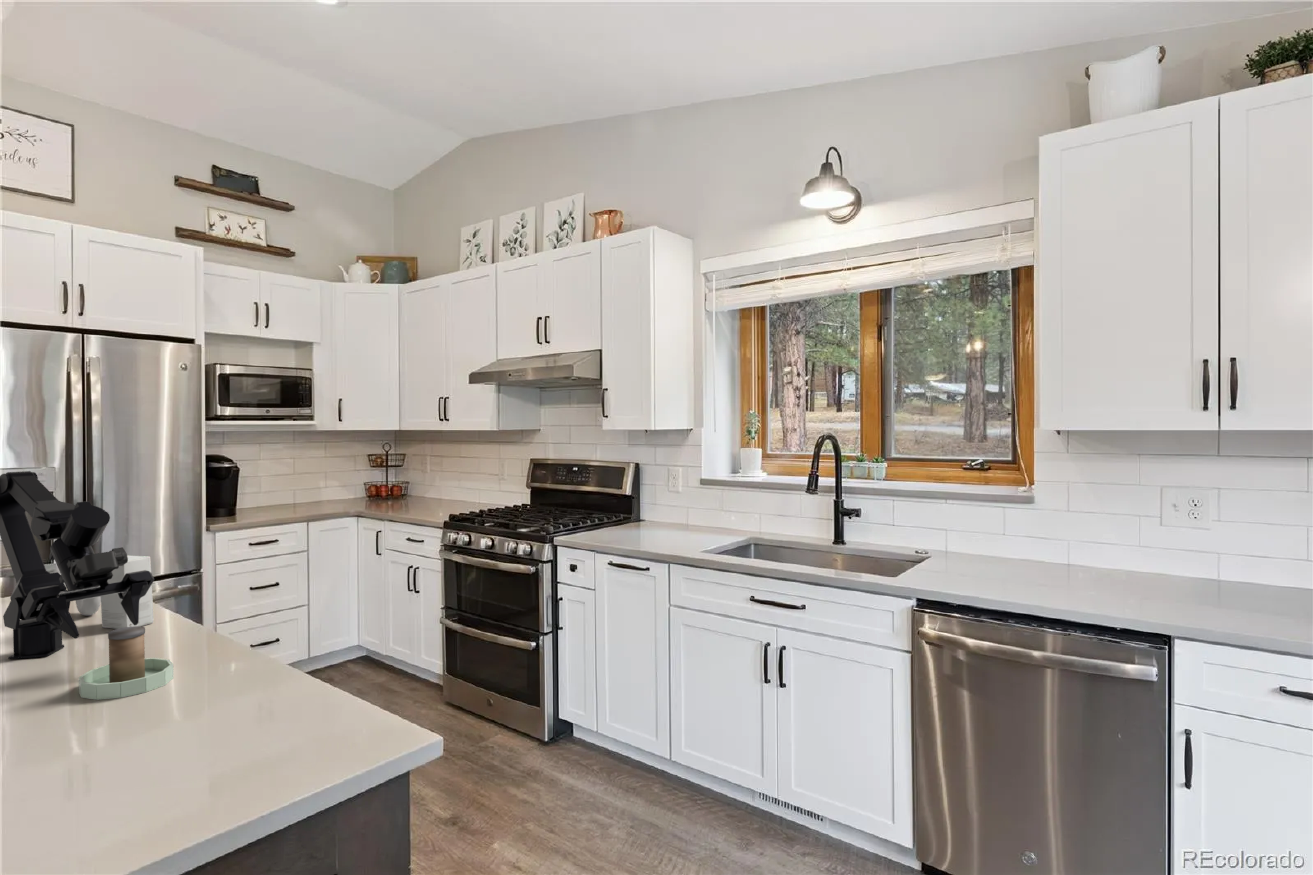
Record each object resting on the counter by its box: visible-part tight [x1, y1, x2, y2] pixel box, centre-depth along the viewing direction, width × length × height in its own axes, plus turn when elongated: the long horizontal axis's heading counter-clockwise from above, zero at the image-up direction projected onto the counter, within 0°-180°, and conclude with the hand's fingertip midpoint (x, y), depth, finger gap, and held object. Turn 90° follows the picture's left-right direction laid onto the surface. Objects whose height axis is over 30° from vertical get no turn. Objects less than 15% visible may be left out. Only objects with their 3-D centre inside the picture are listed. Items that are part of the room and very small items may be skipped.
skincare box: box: [100, 554, 155, 630], centre depth 159 cm, size 8×7×16 cm
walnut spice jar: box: [107, 626, 146, 683], centre depth 124 cm, size 5×5×9 cm
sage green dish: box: [78, 657, 174, 701], centre depth 124 cm, size 13×13×2 cm
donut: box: [74, 596, 101, 617], centre depth 168 cm, size 10×4×10 cm, turn 52°
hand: (107, 630), depth 127 cm, fingers open, 9 cm apart
